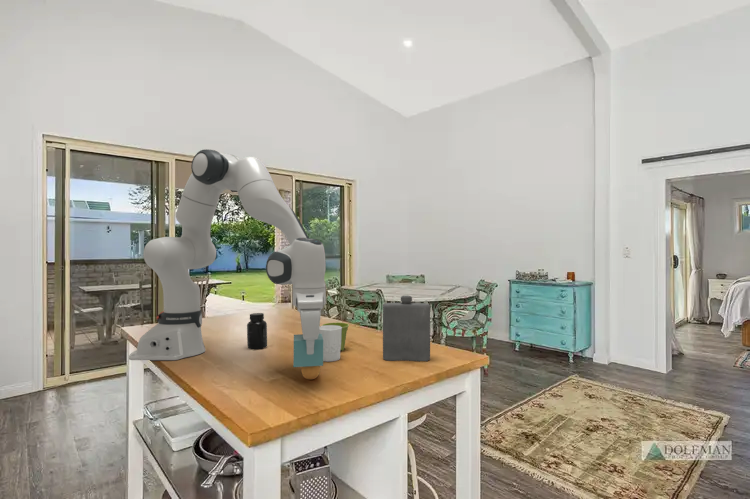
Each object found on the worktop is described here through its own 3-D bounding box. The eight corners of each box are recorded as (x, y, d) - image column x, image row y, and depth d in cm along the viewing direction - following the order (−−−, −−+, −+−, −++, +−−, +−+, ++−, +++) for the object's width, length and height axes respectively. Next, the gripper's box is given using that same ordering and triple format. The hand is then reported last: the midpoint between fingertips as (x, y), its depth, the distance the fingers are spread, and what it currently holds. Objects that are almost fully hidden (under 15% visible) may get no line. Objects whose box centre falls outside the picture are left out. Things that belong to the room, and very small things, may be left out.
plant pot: (348, 353, 135) (347, 327, 135) (319, 353, 135) (319, 327, 135) (350, 346, 144) (350, 322, 144) (323, 346, 144) (323, 322, 144)
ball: (324, 369, 106) (313, 385, 106) (323, 364, 111) (312, 379, 111) (308, 359, 106) (297, 375, 105) (308, 354, 110) (297, 370, 110)
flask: (429, 357, 130) (429, 295, 130) (430, 362, 124) (430, 297, 124) (383, 355, 131) (383, 294, 131) (382, 360, 126) (382, 296, 126)
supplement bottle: (261, 344, 148) (261, 311, 148) (270, 347, 143) (270, 313, 143) (243, 347, 143) (243, 313, 143) (252, 350, 138) (252, 316, 138)
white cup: (337, 363, 123) (337, 330, 123) (313, 361, 125) (313, 329, 125) (344, 356, 131) (344, 325, 131) (321, 355, 133) (321, 324, 133)
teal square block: (293, 367, 103) (293, 340, 103) (293, 359, 111) (293, 334, 111) (323, 365, 105) (323, 339, 105) (321, 358, 112) (321, 333, 112)
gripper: (297, 294, 118) (297, 341, 118) (297, 303, 98) (297, 360, 98) (318, 293, 119) (319, 340, 119) (323, 302, 99) (324, 358, 99)
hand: (309, 349), depth 108 cm, fingers closed on teal square block, 8 cm apart
